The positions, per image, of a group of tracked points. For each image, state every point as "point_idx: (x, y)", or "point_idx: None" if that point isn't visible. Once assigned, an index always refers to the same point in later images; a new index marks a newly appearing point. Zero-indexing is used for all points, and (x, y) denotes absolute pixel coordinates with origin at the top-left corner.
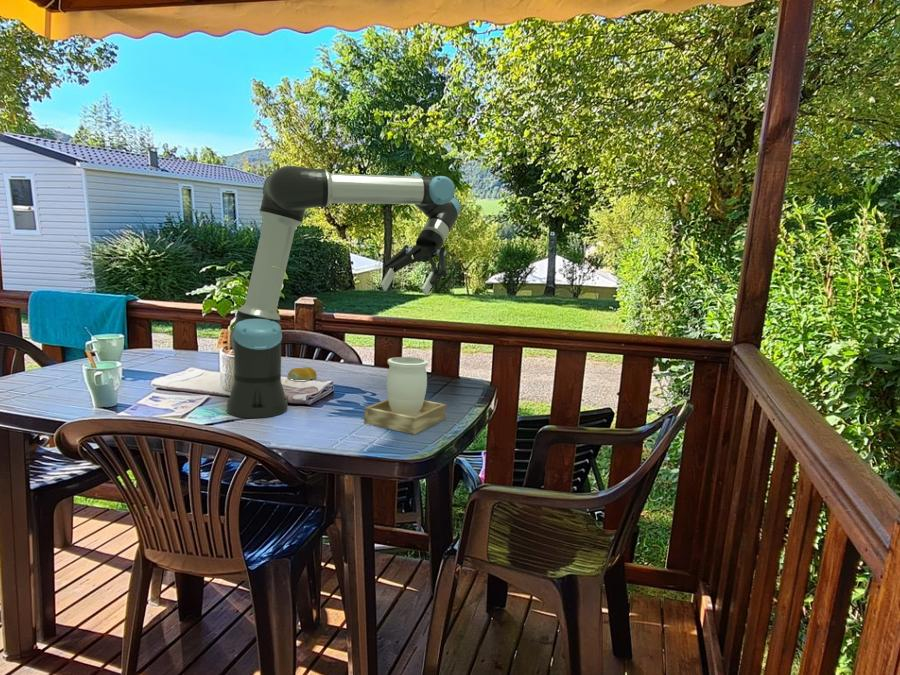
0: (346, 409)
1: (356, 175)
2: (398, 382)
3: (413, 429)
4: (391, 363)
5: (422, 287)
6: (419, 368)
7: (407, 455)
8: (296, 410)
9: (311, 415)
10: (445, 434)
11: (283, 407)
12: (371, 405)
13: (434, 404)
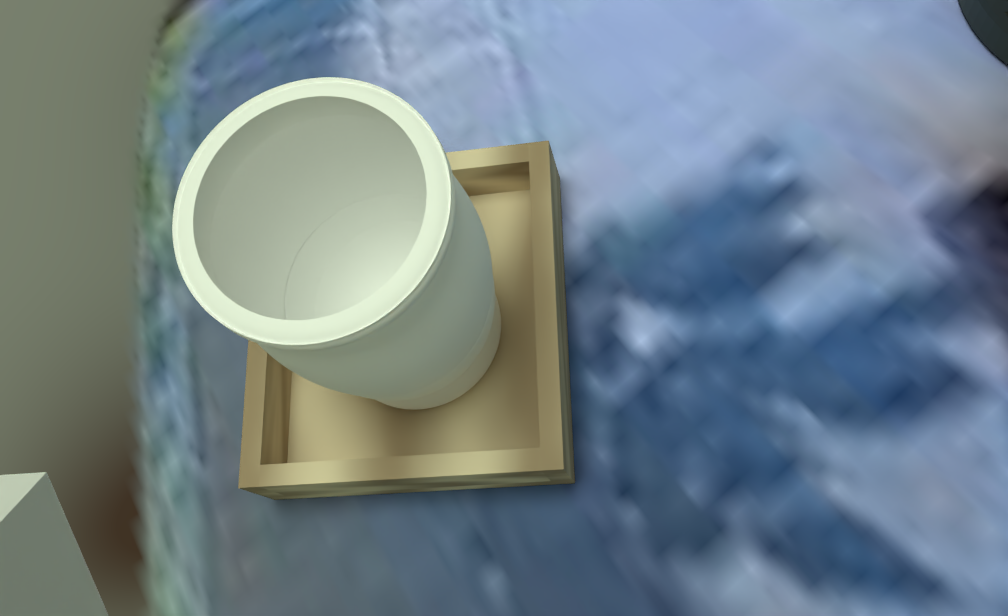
0: (789, 283)
1: None
2: (339, 140)
3: None
4: (364, 86)
5: (21, 489)
6: (205, 185)
7: (210, 26)
8: (968, 96)
9: (839, 93)
10: (184, 299)
11: (974, 2)
12: (548, 193)
13: (304, 462)
